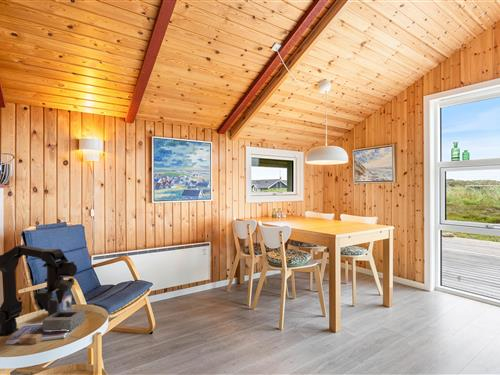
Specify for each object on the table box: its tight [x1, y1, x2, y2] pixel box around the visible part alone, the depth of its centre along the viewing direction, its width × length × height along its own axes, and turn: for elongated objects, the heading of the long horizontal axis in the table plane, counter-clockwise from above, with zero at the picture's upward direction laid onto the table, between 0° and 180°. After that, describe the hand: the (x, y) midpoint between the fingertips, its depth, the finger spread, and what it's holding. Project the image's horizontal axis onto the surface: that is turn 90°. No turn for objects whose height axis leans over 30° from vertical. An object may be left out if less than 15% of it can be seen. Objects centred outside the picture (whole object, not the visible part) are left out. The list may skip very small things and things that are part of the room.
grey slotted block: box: [42, 309, 86, 333], centre depth 148 cm, size 14×12×6 cm
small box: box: [47, 293, 73, 317], centre depth 163 cm, size 11×6×10 cm, turn 168°
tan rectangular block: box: [19, 333, 43, 345], centre depth 134 cm, size 8×4×3 cm, turn 88°
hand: (53, 307), depth 140 cm, fingers open, 9 cm apart
